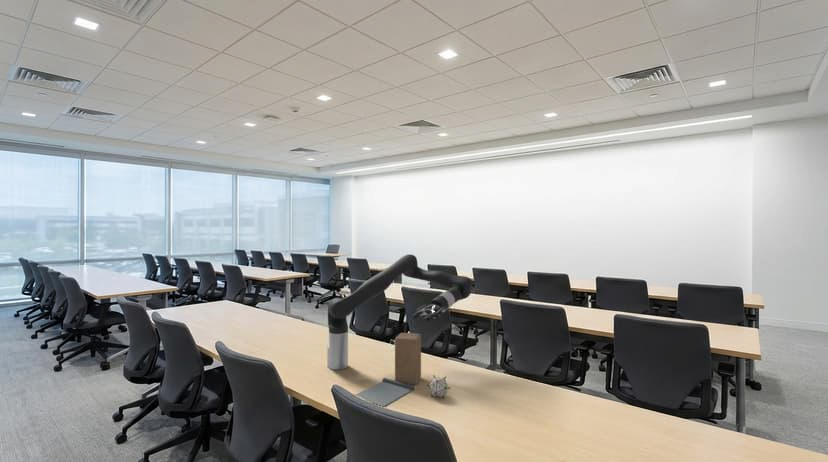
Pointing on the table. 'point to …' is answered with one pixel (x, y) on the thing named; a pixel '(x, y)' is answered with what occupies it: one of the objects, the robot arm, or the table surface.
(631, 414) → the table surface
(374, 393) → the mat
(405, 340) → the wooden block
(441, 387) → the grey spiky star polyhedron
